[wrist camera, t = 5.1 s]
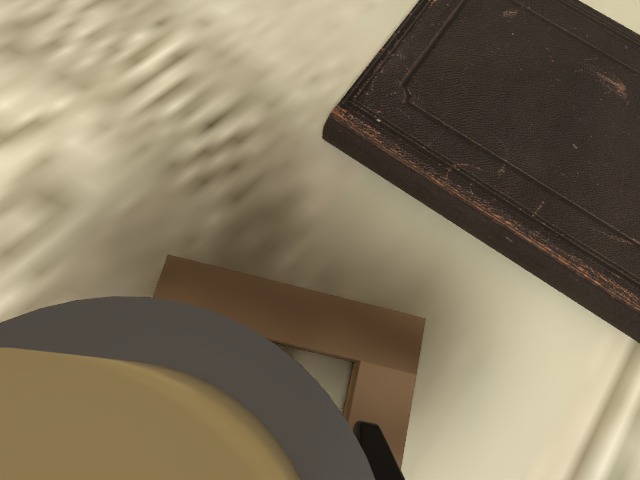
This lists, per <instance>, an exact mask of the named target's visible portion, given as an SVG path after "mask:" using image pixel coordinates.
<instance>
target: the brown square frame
mask: <svg viewBox="0 0 640 480" xmlns="http://www.w3.org/2000/svg"><path fill="white" fill-rule="evenodd" d="M153 298H156V299H163V300H170V301H176V302H183V303H186V304H189V305H193V306H196V307H200V308H203V309H207V310H210V311H213V312H216V313H218V314H221V315H223V316H225V317H227V318H230V319H232V320H234V321H236V322H239V323H241V324H243V325H245V326H247V327H249V328H250V329H252V330H254V331H255V332H257V333H259V334H260V335H262V336H263V337H265V338H267V339H268V340H270V341H271V342H274V343H278V344H282V345H286V346H290V347H294V348H298V349H302V350H306V351H310V352H314V353H318V354H322V355H326V356H330V357H334V358H338V359H342V360H347V361H351V362H354V365H353V370H352V375H351V379H350V384H349V389H348V394H347V399H346V404H345V408H344V413H343V416H344V418H345V419H346V420H347V422H348V424H349V425H350V427H351V429H352V430H353V427H354V424H355V423H356V421H358V420H362V421H366V422H371V423H375V424H377V425H379V426H380V428H381V430H382V432H383V434H384V436H385V438H386V440H387V442H388V445H389V447H390V449H391V451H392V453H393V455H394V457H395V459H396V461H397V463H398V466H399V468H400V470H401V465H402V459H403V453H404V447H405V441H406V435H407V429H408V423H409V416H410V410H411V404H412V398H413V392H414V386H415V380H416V374H417V368H418V362H419V356H420V350H421V343H422V337H423V331H424V325H425V318H421V317H417V316H413V315H409V314H405V313H401V312H396V311H392V310H388V309H384V308H380V307H376V306H372V305H368V304H364V303H360V302H356V301H352V300H348V299H344V298H340V297H336V296H332V295H328V294H324V293H320V292H316V291H312V290H308V289H304V288H300V287H296V286H292V285H288V284H284V283H280V282H276V281H272V280H268V279H264V278H260V277H256V276H252V275H248V274H244V273H240V272H236V271H232V270H228V269H224V268H220V267H216V266H212V265H208V264H204V263H200V262H196V261H192V260H188V259H184V258H179V257H175V256H171V255H168V256H167V259H166V262H165V264H164V267H163V270H162V273H161V276H160V279H159V281H158V284H157V287H156V290H155V293H154V296H153Z"/></svg>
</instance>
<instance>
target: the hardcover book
mask: <svg viewBox="0 0 640 480" xmlns="http://www.w3.org/2000/svg"><path fill="white" fill-rule="evenodd" d="M322 137H323V139H324V140H326V141H327V142H329V143H330V144H332V145H333V146H335V147H336V148H338V149H339V150H341V151H343V152H344V153H346V154H347V155H349V156H350V157H352V158H353V159H355V160H357V161H358V162H360V163H361V164H363V165H364V166H366V167H367V168H369V169H370V170H372V171H374V172H375V173H377V174H378V175H380V176H381V177H383V178H384V179H386V180H388V181H389V182H391V183H392V184H394V185H395V186H397V187H398V188H400V189H402V190H403V191H405V192H406V193H408V194H409V195H411V196H412V197H414V198H415V199H417V200H419V201H420V202H422V203H423V204H425V205H426V206H428V207H429V208H431V209H433V210H434V211H436V212H437V213H439V214H440V215H442V216H443V217H445V218H446V219H448V220H450V221H451V222H453V223H454V224H456V225H457V226H459V227H460V228H462V229H464V230H465V231H467V232H468V233H470V234H471V235H473V236H474V237H476V238H478V239H479V240H481V241H482V242H484V243H485V244H487V245H488V246H490V247H491V248H493V249H495V250H496V251H498V252H499V253H501V254H502V255H504V256H505V257H507V258H509V259H510V260H512V261H513V262H515V263H516V264H518V265H519V266H521V267H523V268H524V269H526V270H527V271H529V272H530V273H532V274H533V275H535V276H536V277H538V278H540V279H541V280H543V281H544V282H546V283H547V284H549V285H550V286H552V287H554V288H555V289H557V290H558V291H560V292H561V293H563V294H564V295H566V296H567V297H569V298H571V299H572V300H574V301H575V302H577V303H578V304H580V305H581V306H583V307H585V308H586V309H588V310H589V311H591V312H592V313H594V314H595V315H597V316H599V317H600V318H602V319H603V320H605V321H606V322H608V323H609V324H611V325H612V326H614V327H616V328H617V329H619V330H620V331H622V332H623V333H625V334H626V335H628V336H630V337H631V338H633V339H634V340H636V341H637V342H639V343H640V35H639V34H637V33H635V32H633V31H632V30H630V29H628V28H626V27H625V26H623V25H621V24H619V23H618V22H616V21H614V20H612V19H611V18H609V17H607V16H605V15H603V14H602V13H600V12H598V11H596V10H595V9H593V8H591V7H589V6H588V5H586V4H584V3H582V2H581V1H579V0H419V2H418V3H417V4H416V5H415V7H414V8H413V9H412V11H411V12H410V13H409V14H408V16H407V17H406V18H405V19H404V21H403V22H402V23H401V24H400V26H399V27H398V28H397V30H396V31H395V32H394V33H393V35H392V36H391V37H390V38H389V40H388V41H387V42H386V44H385V45H384V46H383V47H382V49H381V50H380V51H379V52H378V54H377V55H376V56H375V58H374V59H373V60H372V61H371V63H370V64H369V65H368V66H367V68H366V69H365V70H364V71H363V73H362V74H361V75H360V77H359V78H358V79H357V80H356V82H355V83H354V84H353V85H352V87H351V88H350V89H349V91H348V92H347V93H346V94H345V96H344V97H343V98H342V99H341V101H340V102H339V103H338V104H337V106H336V107H335V108H334V110H333V111H332V112H331V113H330V115H329V117H328V119H327V121H326V123H325V125H324V129H323V136H322Z"/></svg>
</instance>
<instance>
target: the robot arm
mask: <svg viewBox="0 0 640 480" xmlns="http://www.w3.org/2000/svg"><path fill="white" fill-rule="evenodd" d="M352 431H353V433H354V435H355V436H356V438H357V440H358V442H359V444H360V446H361V448H362V449H363V451H364V453H365V455H366V457H367V460H368V462H369V465H370V467H371V470H372V473H373V475H374V478H375V480H405V478H404V476H403V474H402V472H401V470H400V468H399V466H398V463H397V461H396V459H395V457H394V455H393V453H392V451H391V449H390V447H389V445H388V442H387V440H386V438H385V436H384V434H383V432H382V430H381V428H380V426H379V425H377V424H375V423H371V422H366V421H362V420H358V421H356V423H355V424H354V427H353V430H352Z"/></svg>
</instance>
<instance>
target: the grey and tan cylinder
mask: <svg viewBox="0 0 640 480" xmlns="http://www.w3.org/2000/svg"><path fill="white" fill-rule="evenodd" d="M0 480H375V478H374V475H373V473H372V470H371V467H370V465H369V462H368V460H367V457H366V455H365V453H364V451H363V449H362V448H361V446H360V444H359V442H358V440H357V438H356V436H355V435H354V433H353V431H352V429H351V427H350V425H349V424H348V422H347V420H346V419H345V418H344V416H343V415H342V413H341V412H340V411H339V409H338V408H337V406H336V405H335V404H334V402H333V401H332V399H331V398H330V397H329V395H328V394H327V392H326V391H325V390H324V389H323V388H322V387H321V386H320V385H319V384H318V383H317V382H316V380H315V379H314V378H313V377H312V376H311V375H310V374H309V373H308V372H307V371H306V370H305V369H304V368H303V366H302V365H300V364H299V363H298V362H297V361H295V360H294V359H293V358H292V357H291V356H289V355H288V354H287V353H286V352H284V351H283V350H282V349H281V348H280V347H278V346H277V345H276V344H275V343H273V342H271V341H270V340H268V339H267V338H265V337H263V336H262V335H260V334H259V333H257V332H255V331H254V330H252V329H250V328H249V327H247V326H245V325H243V324H241V323H239V322H236V321H234V320H232V319H230V318H227V317H225V316H223V315H221V314H218V313H216V312H213V311H210V310H207V309H203V308H200V307H196V306H193V305H189V304H186V303H183V302H176V301H170V300H163V299H156V298H150V297H115V296H113V297H103V298H93V299H84V300H76V301H71V302H67V303H62V304H58V305H54V306H49V307H45V308H41V309H38V310H35V311H32V312H29V313H26V314H23V315H21V316H18V317H15V318H12V319H9V320H6V321H4V322H2V323H0Z"/></svg>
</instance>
